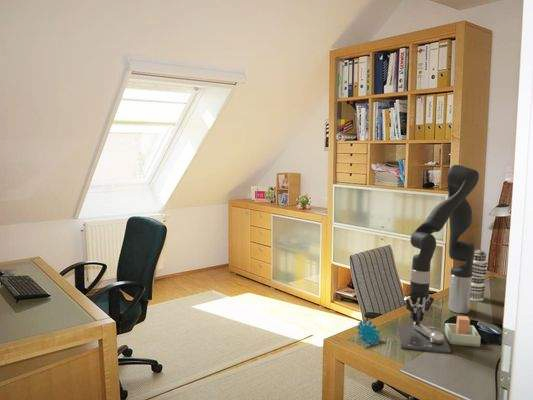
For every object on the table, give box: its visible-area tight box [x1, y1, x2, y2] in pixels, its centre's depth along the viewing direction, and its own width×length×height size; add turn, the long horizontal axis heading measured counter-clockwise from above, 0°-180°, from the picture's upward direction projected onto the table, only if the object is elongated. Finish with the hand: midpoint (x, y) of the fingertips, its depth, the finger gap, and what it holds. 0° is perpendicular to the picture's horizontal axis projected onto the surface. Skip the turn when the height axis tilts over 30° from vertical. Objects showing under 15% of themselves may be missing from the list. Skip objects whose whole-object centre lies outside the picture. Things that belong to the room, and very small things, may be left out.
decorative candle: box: [470, 249, 488, 302], centre depth 225 cm, size 9×9×25 cm
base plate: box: [395, 323, 452, 354], centre depth 177 cm, size 20×18×2 cm
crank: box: [412, 306, 445, 344], centre depth 176 cm, size 16×5×9 cm, turn 19°
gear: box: [356, 320, 382, 346], centre depth 175 cm, size 11×6×10 cm
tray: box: [444, 322, 481, 347], centre depth 177 cm, size 11×11×4 cm
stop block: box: [455, 315, 471, 335], centre depth 177 cm, size 4×4×8 cm
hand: (416, 320), depth 183 cm, fingers closed on crank, 2 cm apart
